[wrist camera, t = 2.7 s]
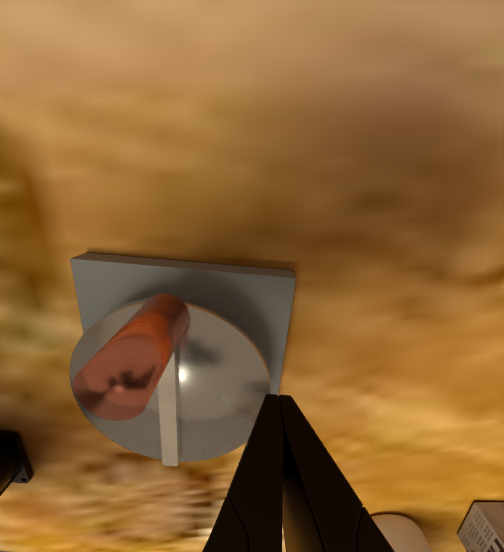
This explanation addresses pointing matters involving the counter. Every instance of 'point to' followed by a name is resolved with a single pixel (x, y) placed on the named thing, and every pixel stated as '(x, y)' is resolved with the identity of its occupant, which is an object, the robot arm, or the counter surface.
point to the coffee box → (484, 528)
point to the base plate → (192, 294)
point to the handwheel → (170, 379)
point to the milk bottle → (402, 533)
